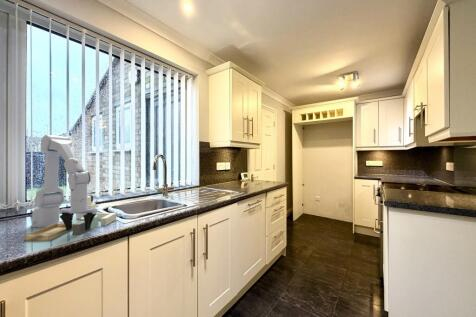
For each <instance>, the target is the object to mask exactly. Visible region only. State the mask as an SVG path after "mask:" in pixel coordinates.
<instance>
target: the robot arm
mask: <svg viewBox="0 0 476 317" xmlns="http://www.w3.org/2000/svg"><path fill="white" fill-rule="evenodd" d="M72 146H73V140H72V139H71V137H70V136H60V135H59V136H58V135H49V134H45V135H44V136H42V138H41V140H40V150H41V151H40V152H42V153H44V176H43V177H44V182H43V184H44V185H43V187H41V188H40V189H37V190H36V193H35V196H34V205H35V206H36V207H35V208H34V209H33V211H32V212H31V213H32V214H31V215H32V216H31V225H30V227H31V228H45V227H47V226H50V225H52V224H55V223H64V224H65V227H66V230H67V231H69V230H71V229H72V223H73V219H74V214H75V215H76V214H86V213H87V214H86V215H83V217H84V220H85V231H86V232H87V230H88V231H90V230H89V229H90V226H91V223H92V221H93V219H94V217H95V215H96V213H98V208H97V207H96V208H87V195H88V184H90V182H91V179H92V178H91V174H90V171H87V170H86V169H84V167H83V165H82V164H81V162H80V160H79V159H78V158H75V156H74V153H73V151H72ZM59 156H60V157H61V158H62V159H63V160H64V162H63V167H64V169H65V171H66V173H67V174H68V177H67V182H68V185H69V186H68V187H69V190H70V206H69V207H70V208H69V207H67V208H60V206H62V205H63V203H64V202H65V198H66V197H65V193H64V192H65V191H64V189H63V188H61V187H60V186H59ZM60 219H61V220H60ZM71 231H72V230H71ZM69 232H70V231H69Z"/></svg>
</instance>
